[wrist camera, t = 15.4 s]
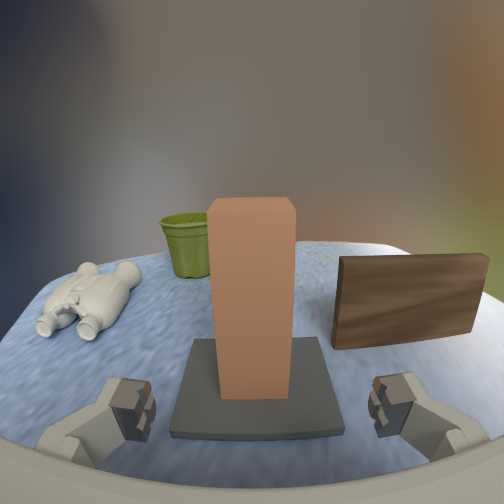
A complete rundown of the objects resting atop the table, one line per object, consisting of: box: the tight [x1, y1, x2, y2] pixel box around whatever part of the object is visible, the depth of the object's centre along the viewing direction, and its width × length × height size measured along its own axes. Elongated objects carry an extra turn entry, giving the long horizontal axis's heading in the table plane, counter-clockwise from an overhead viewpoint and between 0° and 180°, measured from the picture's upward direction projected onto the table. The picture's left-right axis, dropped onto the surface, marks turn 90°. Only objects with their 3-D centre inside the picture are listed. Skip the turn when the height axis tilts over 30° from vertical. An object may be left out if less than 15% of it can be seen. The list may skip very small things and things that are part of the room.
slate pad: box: [169, 337, 345, 441], centre depth 25 cm, size 12×12×1 cm
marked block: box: [207, 197, 296, 399], centre depth 22 cm, size 5×5×14 cm
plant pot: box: [159, 212, 210, 278], centre depth 48 cm, size 9×9×9 cm
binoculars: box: [35, 261, 141, 341], centre depth 36 cm, size 10×16×5 cm, turn 4°
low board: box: [331, 253, 490, 350], centre depth 28 cm, size 2×17×9 cm, turn 90°
